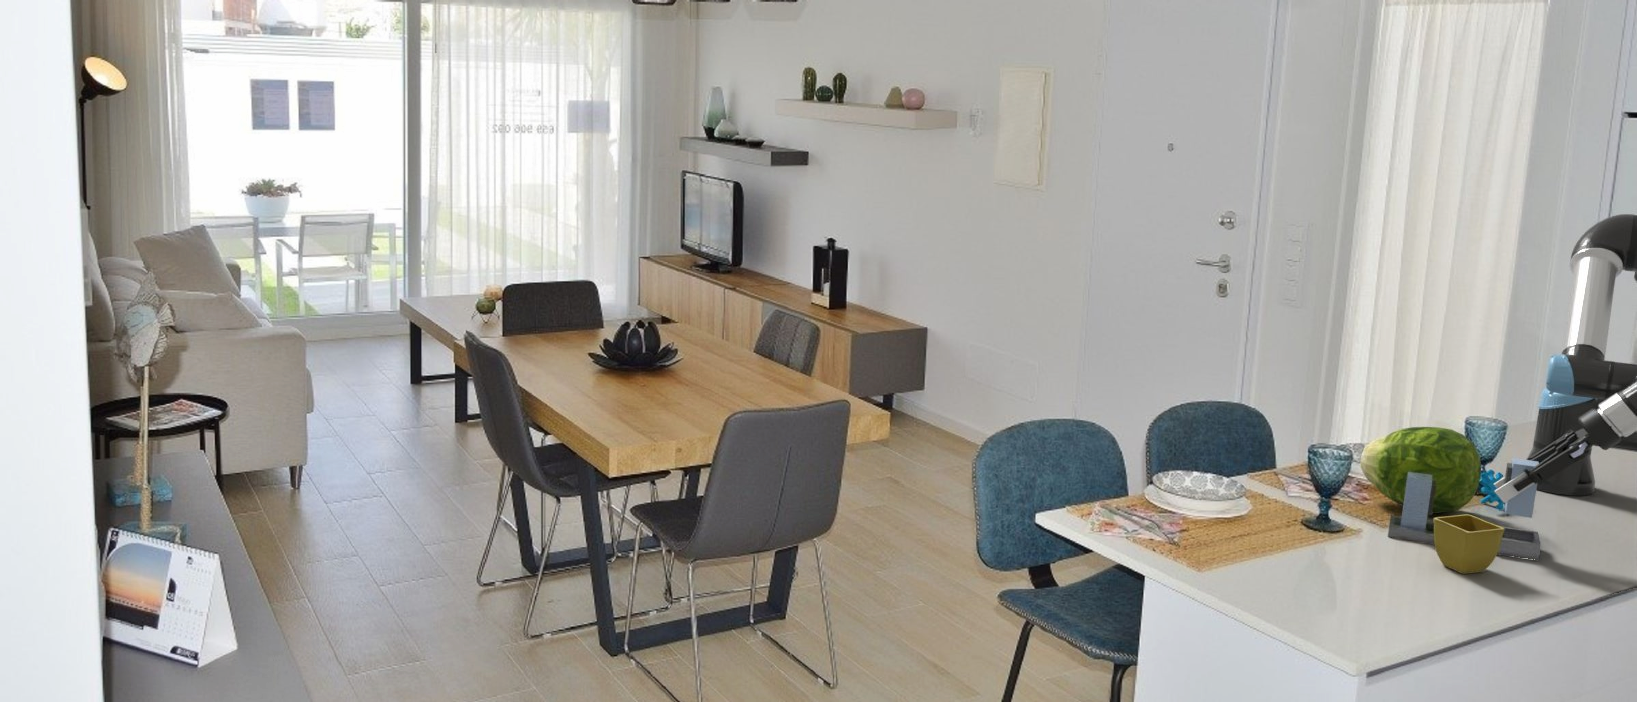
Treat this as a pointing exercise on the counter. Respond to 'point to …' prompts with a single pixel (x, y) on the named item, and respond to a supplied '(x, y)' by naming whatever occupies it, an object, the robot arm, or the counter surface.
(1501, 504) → the blue splash shape
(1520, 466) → the blue block
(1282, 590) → the counter surface
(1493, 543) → the flower pot
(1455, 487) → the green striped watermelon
